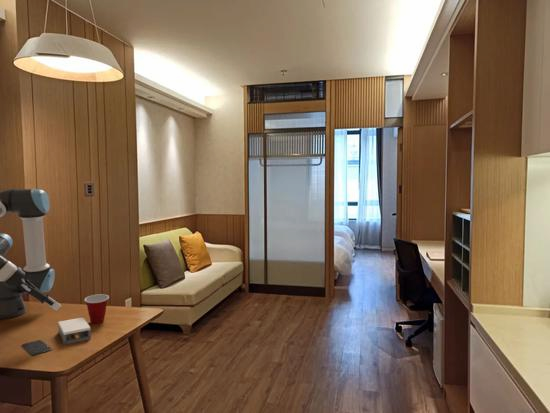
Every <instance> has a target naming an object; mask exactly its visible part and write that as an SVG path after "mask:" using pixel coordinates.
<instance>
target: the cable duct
mask: <svg viewBox="0 0 550 413" xmlns="http://www.w3.org/2000/svg"><path fill="white" fill-rule="evenodd" d="M57 326H58V335H59V337H60V339H61V341H62V343H63V345H69V344H73V343H78V342H83V341H88V340H91V332H92V331H91V329H90V330H87V331H82V332H77V333H72V334H67V335H64V334H63V332H62V330H61V328H60V326H59V324H58V325H57Z"/></svg>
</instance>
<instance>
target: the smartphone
mask: <svg viewBox="0 0 550 413" xmlns="http://www.w3.org/2000/svg"><path fill="white" fill-rule="evenodd" d="M21 348H23V350H25V352H26V353H28V354H29V355H30V356H31V357H34V356H37V355H42V354H45V353H48V352H52V351H53V348H52V347H50V346H49V345H48V344H47V343H45V342H44V341H43V340H41V339H38V340H33V341H30V342H25V343H23V344H21Z"/></svg>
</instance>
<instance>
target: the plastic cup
mask: <svg viewBox="0 0 550 413" xmlns="http://www.w3.org/2000/svg"><path fill="white" fill-rule="evenodd" d="M109 299H110V295H108V294H103V293H100V294H92V295H88V296H86V297H85V298H84V302H85V305H86V307H87V312H88V317H89V320H90V323H91V324H94V325H95V324H100V323H103V322H104V321H105V316H106V311H107V305H108V302H109Z"/></svg>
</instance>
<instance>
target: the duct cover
mask: <svg viewBox="0 0 550 413" xmlns="http://www.w3.org/2000/svg"><path fill="white" fill-rule="evenodd" d="M58 324H59V326H60V328H61V330H62V332H63V334H64V335H67V334H72V333H77V332H82V331H87V330H90V331H91V326H90V325H89V324H88V322H87V321H86V319H85V318H84V317H83V316H82V317H78V318H72V319H67V320H66V319H65V320H61V321H58Z"/></svg>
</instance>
